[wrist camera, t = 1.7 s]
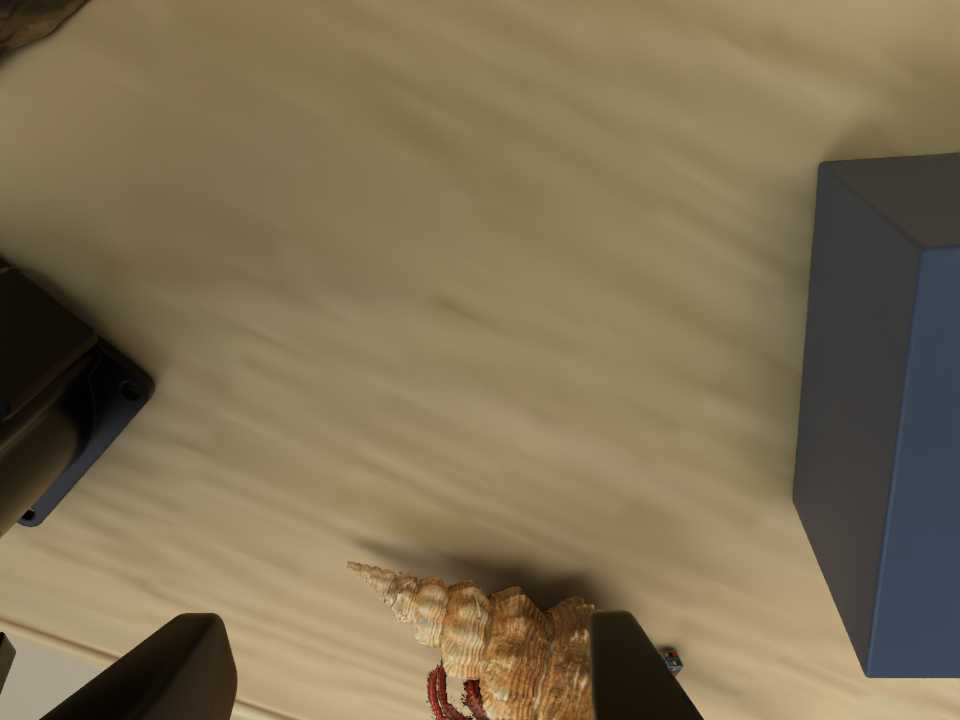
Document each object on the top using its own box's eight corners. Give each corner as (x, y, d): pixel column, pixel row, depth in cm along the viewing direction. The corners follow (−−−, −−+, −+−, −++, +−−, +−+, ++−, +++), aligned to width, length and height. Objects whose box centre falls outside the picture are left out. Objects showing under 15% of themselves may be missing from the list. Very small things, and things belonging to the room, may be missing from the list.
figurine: (355, 669, 27) (319, 798, 23) (355, 539, 25) (314, 658, 21) (800, 723, 26) (840, 865, 22) (843, 594, 24) (897, 728, 20)
